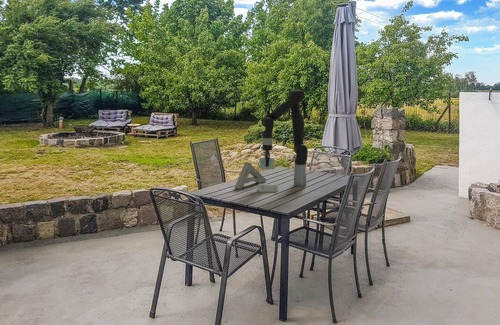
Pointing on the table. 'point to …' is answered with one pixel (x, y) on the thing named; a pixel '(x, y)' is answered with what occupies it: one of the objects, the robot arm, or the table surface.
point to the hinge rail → (268, 187)
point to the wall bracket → (244, 174)
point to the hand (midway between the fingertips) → (266, 166)
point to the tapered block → (263, 163)
